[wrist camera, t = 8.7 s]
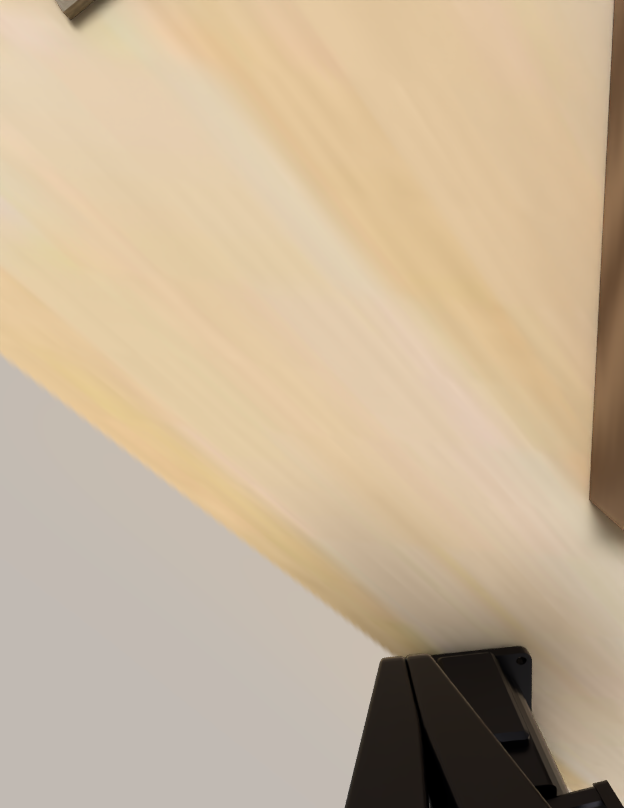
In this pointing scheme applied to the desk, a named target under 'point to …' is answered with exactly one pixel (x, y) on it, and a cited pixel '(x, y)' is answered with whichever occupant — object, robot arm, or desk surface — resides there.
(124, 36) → the desk surface
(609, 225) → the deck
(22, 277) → the desk surface
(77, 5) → the thin grey panel
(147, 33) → the desk surface
